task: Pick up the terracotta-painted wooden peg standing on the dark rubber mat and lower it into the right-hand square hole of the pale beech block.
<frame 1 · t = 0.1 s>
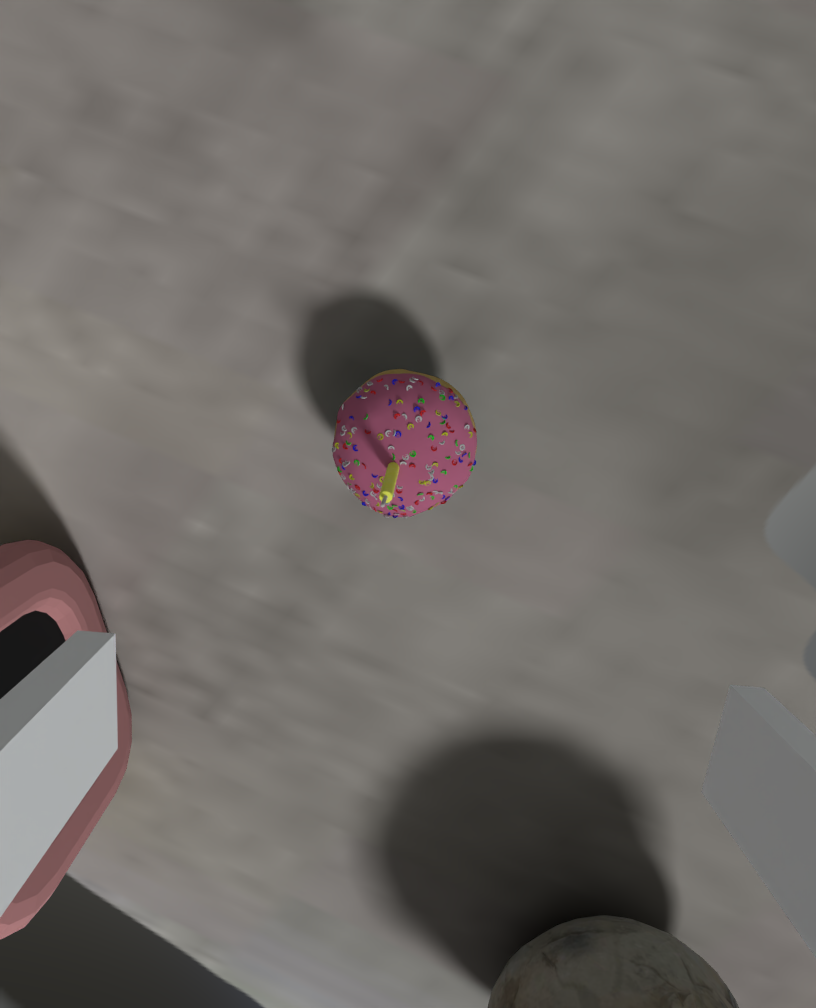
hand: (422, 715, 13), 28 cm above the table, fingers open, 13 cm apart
alarm clock: (45, 648, 43), on the table
bowl: (585, 955, 51), on the table
cupcake: (403, 432, 40), on the table
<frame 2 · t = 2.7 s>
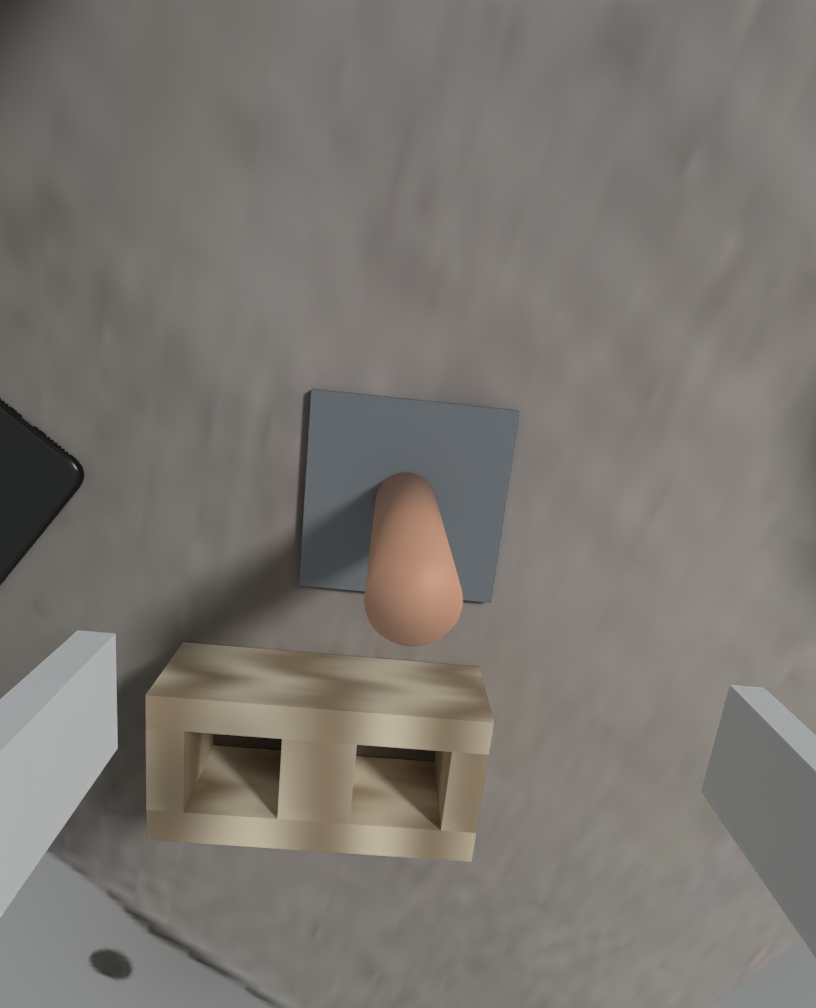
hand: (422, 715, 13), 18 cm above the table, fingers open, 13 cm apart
peg: (405, 501, 30), resting on mat
mat: (405, 499, 30), on the table
hole block: (327, 719, 33), on the table
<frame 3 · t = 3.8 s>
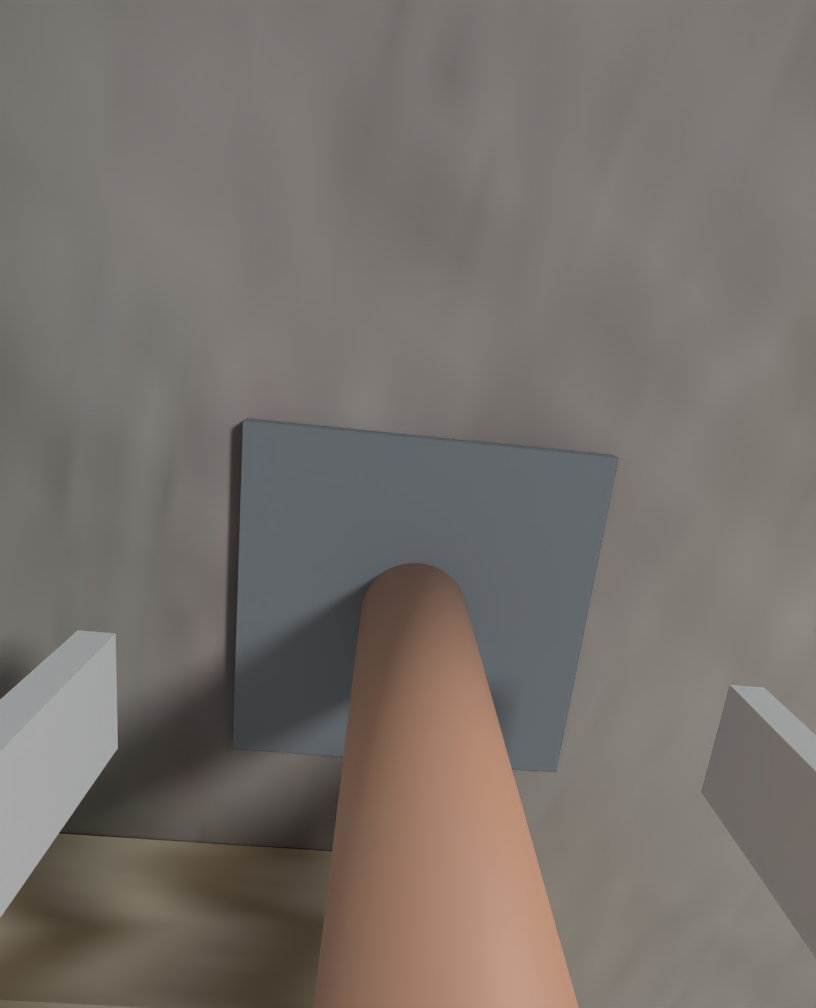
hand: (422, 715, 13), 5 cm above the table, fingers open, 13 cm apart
peg: (413, 612, 17), resting on mat
mat: (413, 606, 18), on the table
hole block: (287, 942, 21), on the table
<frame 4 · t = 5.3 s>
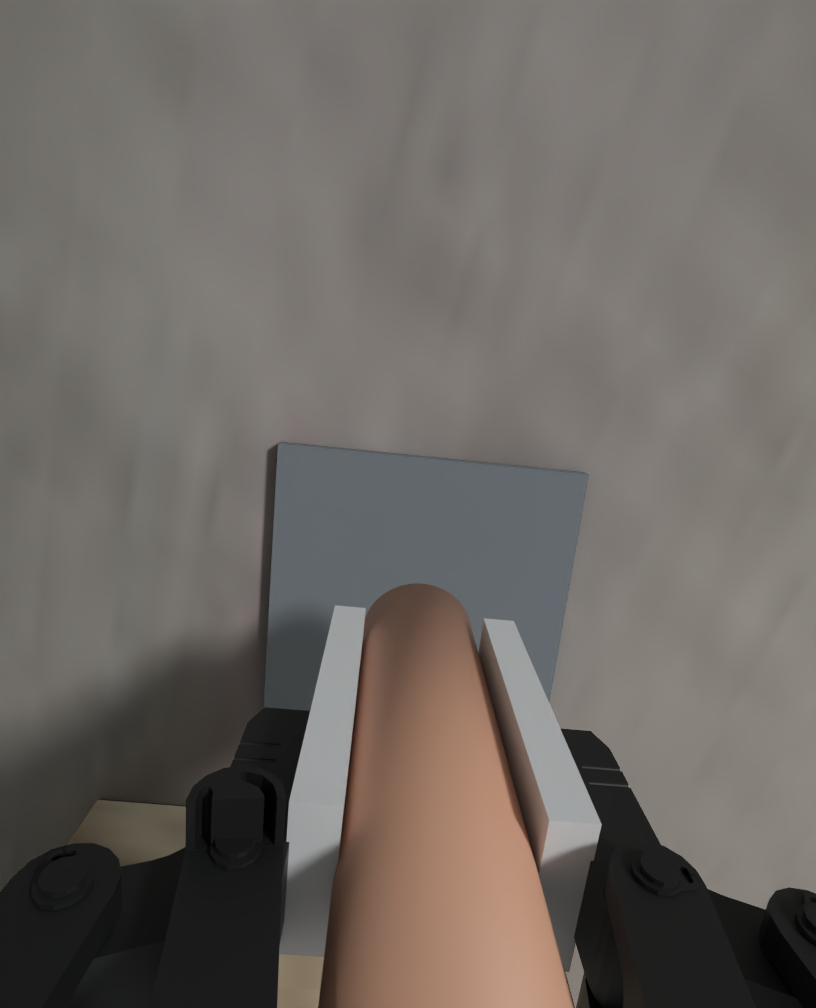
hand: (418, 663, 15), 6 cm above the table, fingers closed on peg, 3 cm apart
peg: (416, 634, 16), point 4 cm above the table, touching gripper
mat: (417, 600, 21), on the table
hole block: (306, 903, 23), on the table
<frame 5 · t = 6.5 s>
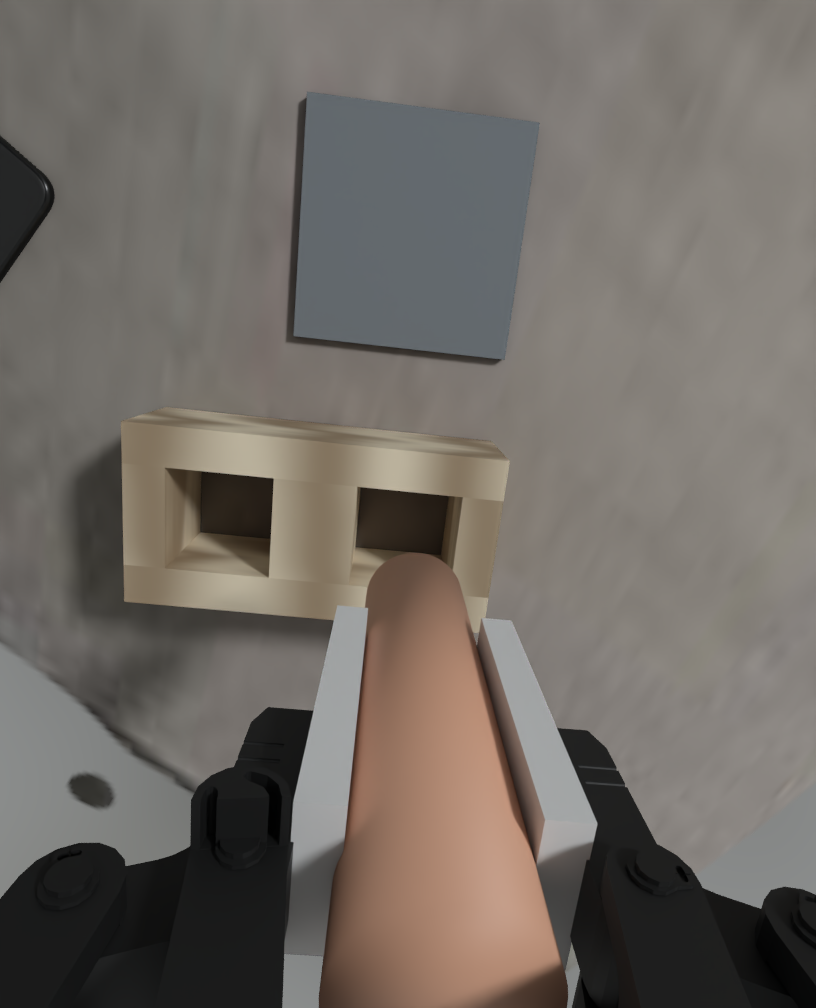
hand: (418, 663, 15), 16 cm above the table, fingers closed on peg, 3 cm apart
peg: (414, 597, 19), point 12 cm above the table, touching gripper
mat: (411, 235, 27), on the table
hole block: (325, 502, 31), on the table
when the fingers open (6 cm above the table, at t = 8.2 s): peg drops 2 cm, resting in hole block.
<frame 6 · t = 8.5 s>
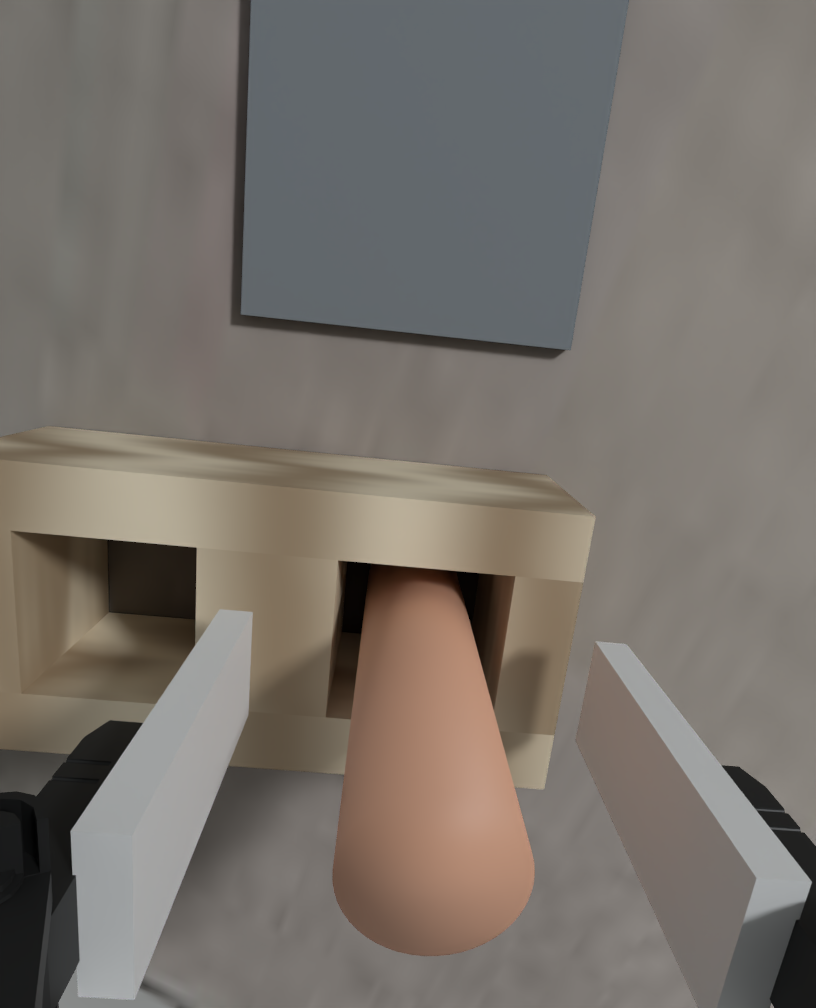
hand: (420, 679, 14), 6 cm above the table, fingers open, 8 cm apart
peg: (412, 577, 20), resting in hole block
mat: (425, 152, 17), on the table
hole block: (295, 567, 20), on the table
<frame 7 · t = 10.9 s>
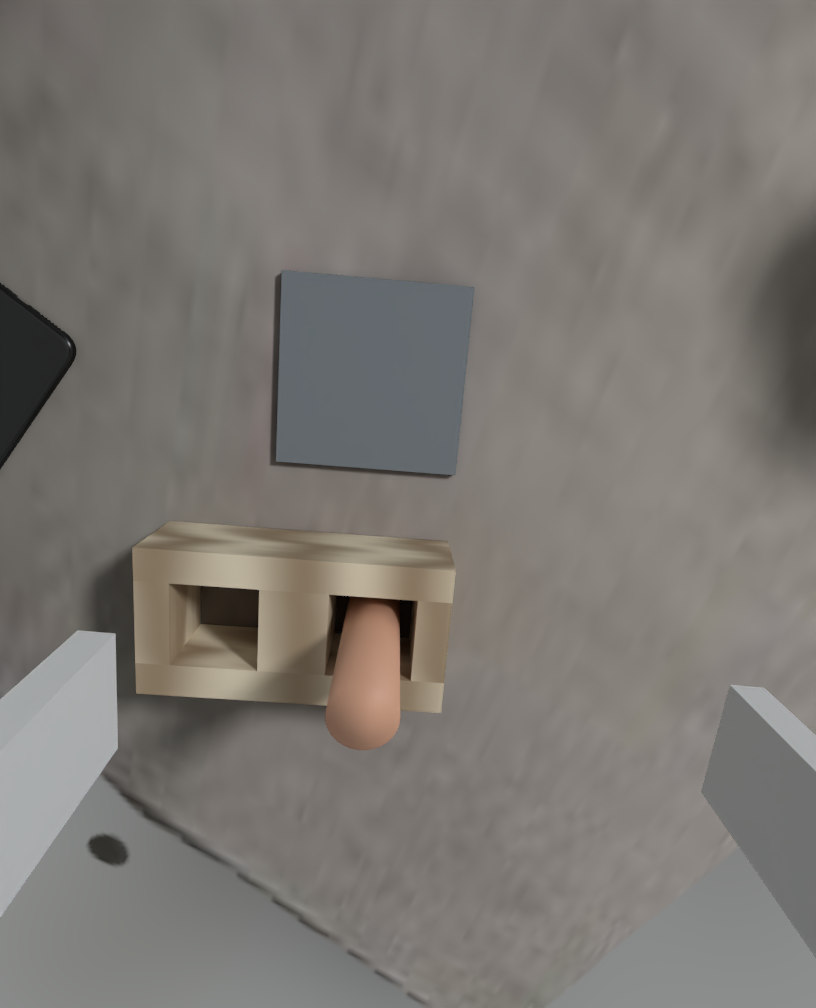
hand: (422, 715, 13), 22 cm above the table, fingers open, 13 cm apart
peg: (374, 600, 36), resting in hole block
mat: (372, 376, 33), on the table
hole block: (307, 596, 35), on the table
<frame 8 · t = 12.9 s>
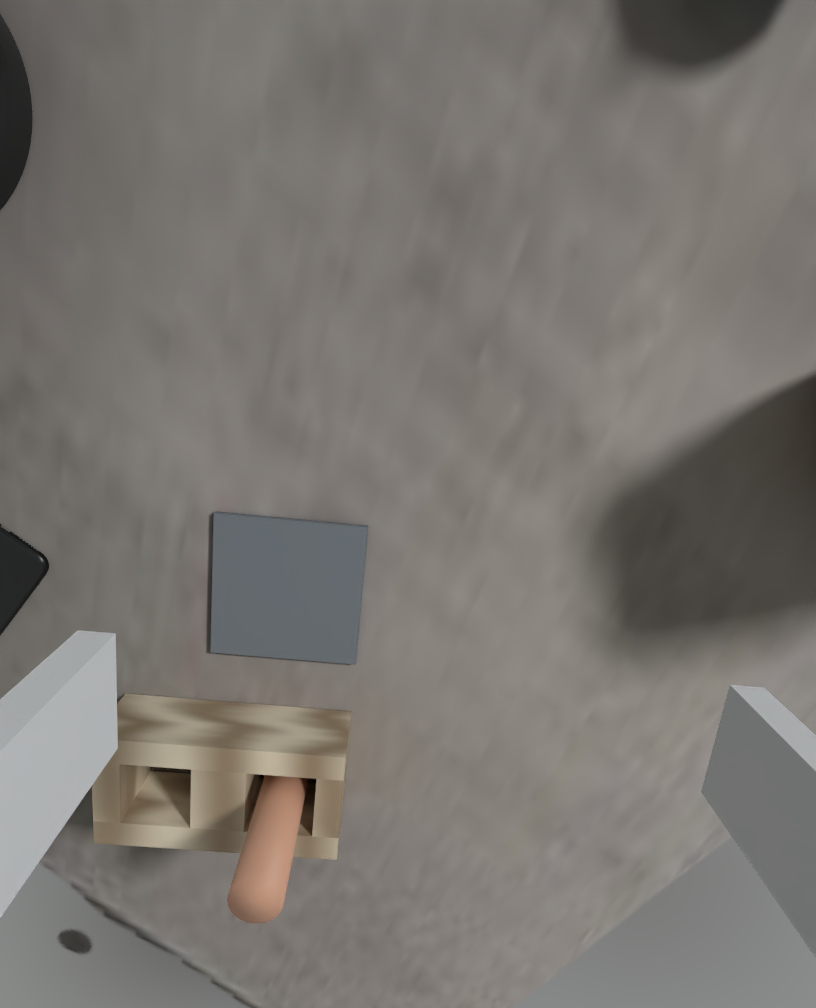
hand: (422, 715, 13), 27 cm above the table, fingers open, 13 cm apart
peg: (292, 754, 44), resting in hole block
mat: (288, 589, 41), on the table
hole block: (237, 750, 44), on the table
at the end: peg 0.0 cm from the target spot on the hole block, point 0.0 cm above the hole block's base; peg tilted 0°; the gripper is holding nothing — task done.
